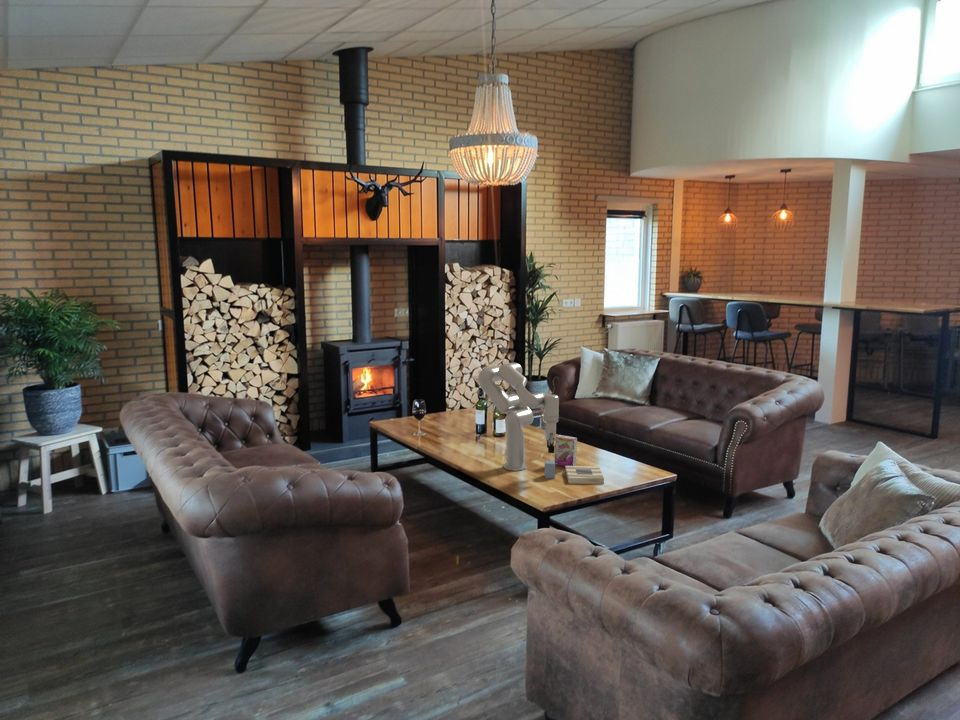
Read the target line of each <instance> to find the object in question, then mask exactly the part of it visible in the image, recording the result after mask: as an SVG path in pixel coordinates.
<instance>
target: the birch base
mask: <svg viewBox="0 0 960 720" xmlns="http://www.w3.org/2000/svg"><path fill="white" fill-rule="evenodd" d="M564 472H565V476H566V479H567V483H568V484H576V485H577V484H579V485H580V484H581V485H582V484H583V485H584V484H585V485H586V484H587V485H595V484H596V485H604V484H605V478H604V475H603V472H602V471H601V469H600V466H597V465H595V466H591V465H576V466H565V468H564Z"/></svg>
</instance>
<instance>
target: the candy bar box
mask: <svg viewBox="0 0 960 720" xmlns="http://www.w3.org/2000/svg"><path fill="white" fill-rule="evenodd" d="M577 447H578V438H577V437H573V436H569V435H562V434H558V435H556V437H555V441H554V461H555V466H559V467H565V466H577V450H578V448H577Z"/></svg>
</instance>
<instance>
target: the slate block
mask: <svg viewBox="0 0 960 720" xmlns="http://www.w3.org/2000/svg"><path fill="white" fill-rule="evenodd" d="M544 478H545V479H556V465H555V460H544Z"/></svg>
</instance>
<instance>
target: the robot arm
mask: <svg viewBox="0 0 960 720" xmlns="http://www.w3.org/2000/svg"><path fill="white" fill-rule="evenodd" d="M477 379H478V384H479V387H480V389H482V392H484V393H485V395H487V396H488V398H489V399H490V401H491V402H492V403H493V405H494V406H495V408H496V409H497V410H498V411H499V412H500V413H502V414H506V416H505V421H504V423H505V428H506V463H504V464H503V469H505V470H506V471H514V472H515V471H516V472H518V471H524V470H526V469H527V464H526V463H525V461H524V460H525V433H524V431H523V428H524V427H526V426H530V425H531V424H533V422H534V417H535V416H534V412H533V411H532V410H533V409H534V410H535V409H538V408H542V407H543V423H545V426H544V427H545V429H544V433H545V434H544V439H545V441H546V448H547V452H548V454H555V441H556V436H557V423H558V422H559V416H560V415H559V411H560V409H559V408H560V407H559V406H560V398H559V397H560V396H558V395H557V394H550V393H548V392H544V391H541V392H540V391H539V392H536V393H531V392H530V391H528V389H527V388H526V385H527V383H528V378H526V377H525V376H524V375H523V367H522V366H521V364H519V363H517V362H509V363H504V364H500V365H493V366H489V367H486V368H485V367H484V368H483V369H481V370H480V371H479V373H478V377H477ZM500 381H504V382H506V383H507V384H508V385H509V386H511V387H512V388H513V389H514V390H515V393H511V394H507V393H506V392H505V391H504V390H503V388H502V387H501V386H500V385H498V384H496V383H495V382H500Z"/></svg>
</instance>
